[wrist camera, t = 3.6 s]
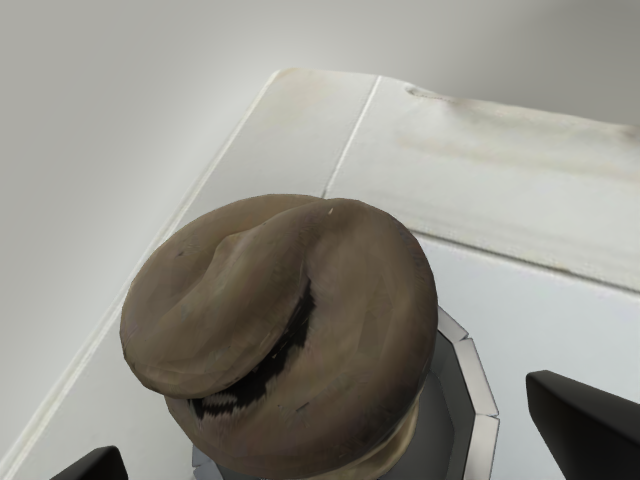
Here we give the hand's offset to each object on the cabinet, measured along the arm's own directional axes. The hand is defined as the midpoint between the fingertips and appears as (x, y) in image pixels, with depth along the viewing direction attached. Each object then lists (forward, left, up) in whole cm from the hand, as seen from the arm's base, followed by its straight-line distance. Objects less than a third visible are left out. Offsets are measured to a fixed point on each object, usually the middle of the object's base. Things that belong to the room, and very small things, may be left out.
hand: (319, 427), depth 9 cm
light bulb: (+1, -1, -11) cm, 11 cm away
